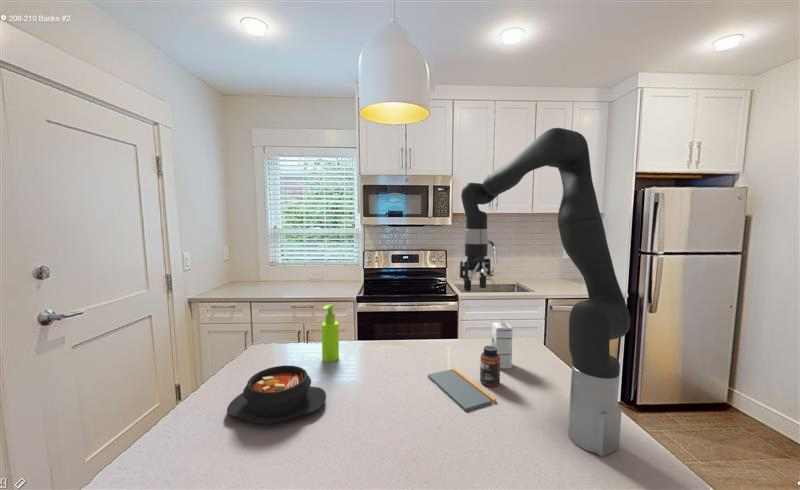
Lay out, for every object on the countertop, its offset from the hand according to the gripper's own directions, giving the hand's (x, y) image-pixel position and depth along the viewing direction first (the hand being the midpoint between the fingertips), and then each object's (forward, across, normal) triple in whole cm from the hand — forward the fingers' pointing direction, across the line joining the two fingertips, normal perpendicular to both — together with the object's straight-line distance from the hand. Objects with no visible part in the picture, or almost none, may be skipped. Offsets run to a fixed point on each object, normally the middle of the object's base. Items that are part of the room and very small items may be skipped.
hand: (475, 289), depth 108 cm
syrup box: (+27, +8, -6) cm, 29 cm away
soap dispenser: (+27, -36, +37) cm, 58 cm away
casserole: (+27, -61, +19) cm, 69 cm away
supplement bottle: (+28, -6, -10) cm, 30 cm away
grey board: (+27, -15, -6) cm, 32 cm away
